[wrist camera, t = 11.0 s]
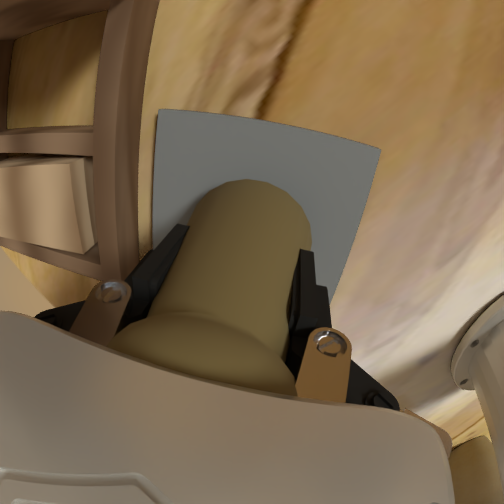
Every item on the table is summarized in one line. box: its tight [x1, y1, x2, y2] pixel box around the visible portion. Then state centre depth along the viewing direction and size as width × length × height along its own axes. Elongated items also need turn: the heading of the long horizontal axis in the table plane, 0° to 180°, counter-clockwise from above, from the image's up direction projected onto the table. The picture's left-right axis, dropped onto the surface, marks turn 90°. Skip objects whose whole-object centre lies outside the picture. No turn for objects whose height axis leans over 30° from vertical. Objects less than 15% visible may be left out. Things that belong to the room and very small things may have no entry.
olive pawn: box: [106, 179, 312, 397], centre depth 9 cm, size 6×6×11 cm
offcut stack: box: [0, 153, 98, 254], centre depth 15 cm, size 10×5×4 cm, turn 85°
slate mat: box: [153, 109, 381, 305], centre depth 15 cm, size 11×11×1 cm
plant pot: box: [448, 436, 504, 504], centre depth 22 cm, size 15×15×16 cm
